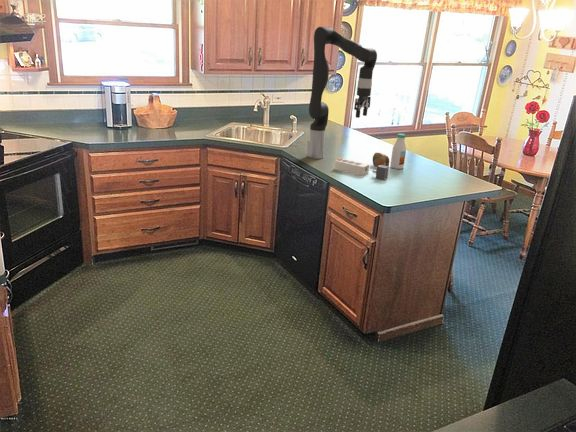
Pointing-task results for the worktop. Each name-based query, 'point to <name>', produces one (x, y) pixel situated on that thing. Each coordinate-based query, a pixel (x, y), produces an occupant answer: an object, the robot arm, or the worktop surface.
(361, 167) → the power strip
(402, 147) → the milk bottle
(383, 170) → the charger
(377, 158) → the tin
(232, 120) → the worktop surface
